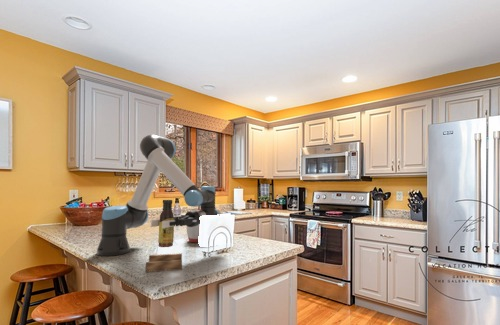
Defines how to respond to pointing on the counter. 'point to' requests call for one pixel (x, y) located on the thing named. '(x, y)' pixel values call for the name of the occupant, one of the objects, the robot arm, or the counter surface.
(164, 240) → the sauce bottle
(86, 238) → the counter surface
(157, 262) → the groove board
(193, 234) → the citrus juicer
